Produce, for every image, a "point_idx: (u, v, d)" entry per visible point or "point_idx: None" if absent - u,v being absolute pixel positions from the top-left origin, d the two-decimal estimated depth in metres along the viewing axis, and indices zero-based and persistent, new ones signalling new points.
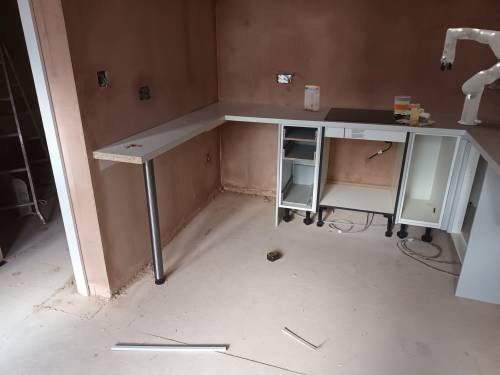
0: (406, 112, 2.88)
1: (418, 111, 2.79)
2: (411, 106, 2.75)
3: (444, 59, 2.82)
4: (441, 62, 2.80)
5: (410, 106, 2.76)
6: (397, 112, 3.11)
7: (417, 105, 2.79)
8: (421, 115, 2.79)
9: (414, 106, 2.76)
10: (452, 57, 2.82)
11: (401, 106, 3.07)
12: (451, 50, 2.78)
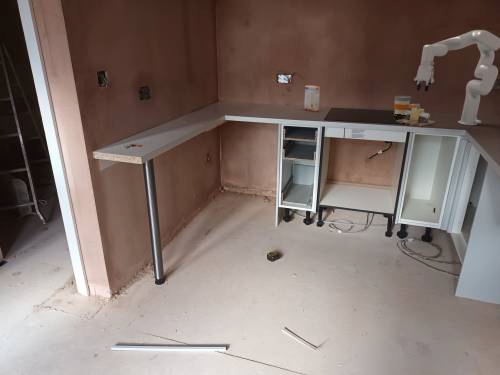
0: (406, 112, 2.88)
1: (418, 111, 2.79)
2: (411, 106, 2.75)
3: None
4: (431, 82, 2.61)
5: (410, 106, 2.76)
6: (397, 112, 3.11)
7: (417, 105, 2.79)
8: (421, 115, 2.79)
9: (414, 106, 2.76)
10: None
11: (401, 106, 3.07)
12: None
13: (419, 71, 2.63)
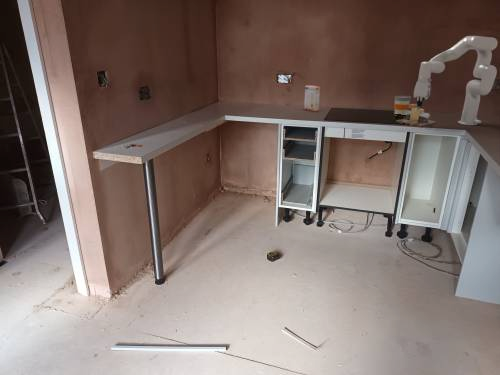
0: (406, 112, 2.88)
1: (418, 111, 2.79)
2: (411, 106, 2.75)
3: None
4: (424, 98, 2.67)
5: (410, 106, 2.76)
6: (397, 112, 3.11)
7: None
8: (421, 115, 2.79)
9: (414, 106, 2.76)
10: None
11: (401, 106, 3.07)
12: None
13: (416, 87, 2.68)
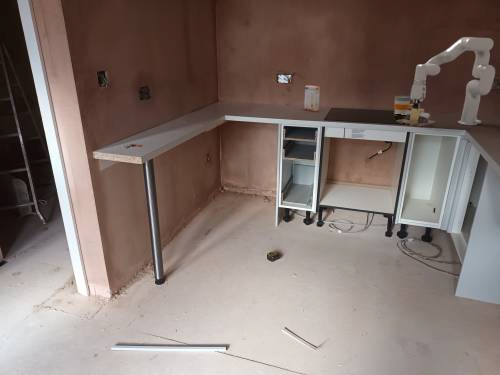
0: (406, 112, 2.88)
1: (418, 111, 2.79)
2: (410, 106, 2.75)
3: None
4: (420, 100, 2.69)
5: (410, 106, 2.76)
6: (397, 112, 3.11)
7: None
8: (421, 115, 2.79)
9: None
10: None
11: (401, 106, 3.07)
12: None
13: (412, 89, 2.71)
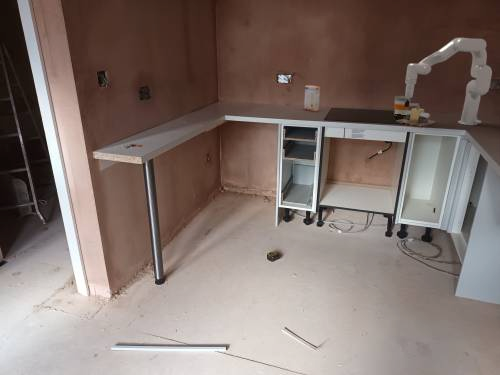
0: (406, 112, 2.88)
1: (418, 111, 2.79)
2: (404, 104, 2.83)
3: None
4: None
5: (404, 104, 2.84)
6: (397, 112, 3.11)
7: (414, 104, 2.81)
8: (421, 115, 2.79)
9: None
10: None
11: (401, 106, 3.07)
12: None
13: None
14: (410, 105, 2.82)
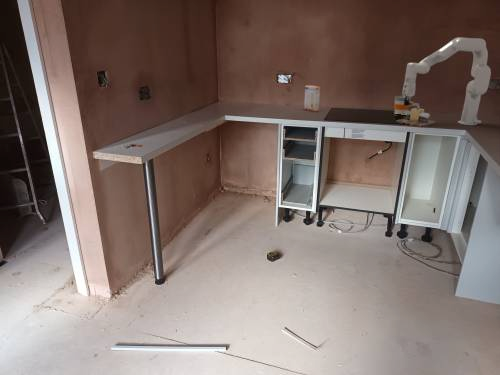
0: (406, 112, 2.88)
1: (418, 111, 2.79)
2: None
3: None
4: None
5: None
6: (397, 112, 3.11)
7: (414, 104, 2.83)
8: (421, 115, 2.79)
9: None
10: (412, 91, 2.80)
11: (401, 106, 3.07)
12: (411, 84, 2.77)
13: None
14: (411, 104, 2.85)
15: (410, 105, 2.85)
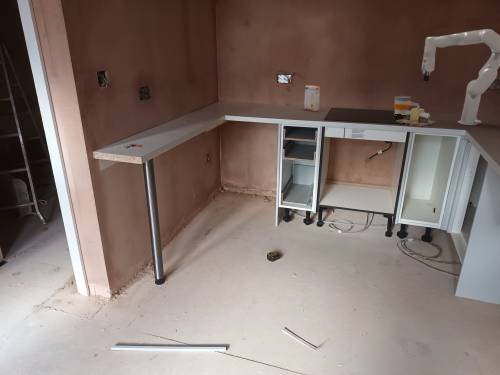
0: (406, 112, 2.88)
1: (418, 111, 2.79)
2: None
3: None
4: (424, 73, 2.77)
5: None
6: (397, 112, 3.11)
7: (414, 104, 2.83)
8: (421, 115, 2.79)
9: (408, 103, 2.86)
10: (432, 66, 2.75)
11: (401, 106, 3.07)
12: (431, 59, 2.72)
13: None
14: (411, 104, 2.85)
15: (410, 105, 2.85)
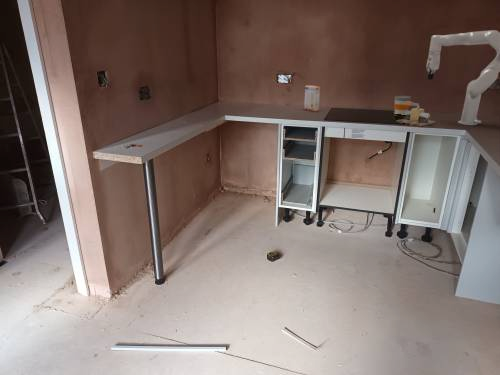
0: (406, 112, 2.88)
1: (418, 111, 2.79)
2: None
3: None
4: None
5: None
6: (397, 112, 3.11)
7: (414, 104, 2.83)
8: (421, 115, 2.79)
9: (408, 103, 2.86)
10: (437, 64, 2.76)
11: (401, 106, 3.07)
12: (436, 57, 2.73)
13: None
14: (411, 104, 2.85)
15: (410, 105, 2.85)
